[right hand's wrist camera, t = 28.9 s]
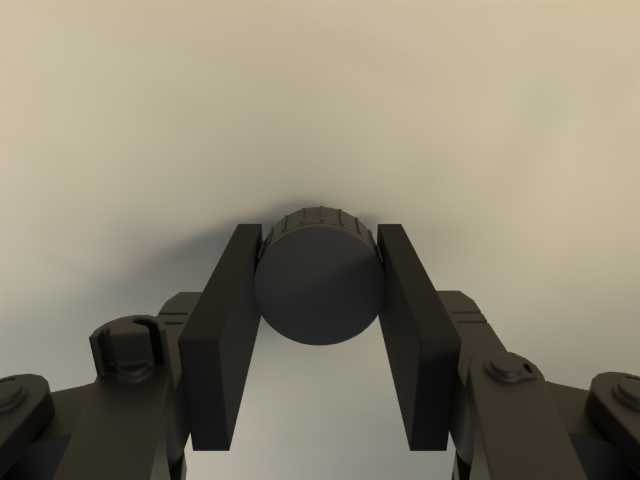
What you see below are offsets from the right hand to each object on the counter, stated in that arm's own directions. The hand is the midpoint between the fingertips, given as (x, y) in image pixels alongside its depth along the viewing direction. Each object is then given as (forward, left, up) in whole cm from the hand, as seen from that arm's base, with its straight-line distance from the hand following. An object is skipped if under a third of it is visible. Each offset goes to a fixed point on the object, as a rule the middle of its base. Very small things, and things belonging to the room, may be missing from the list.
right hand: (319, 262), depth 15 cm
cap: (0, 0, +2) cm, 2 cm away
